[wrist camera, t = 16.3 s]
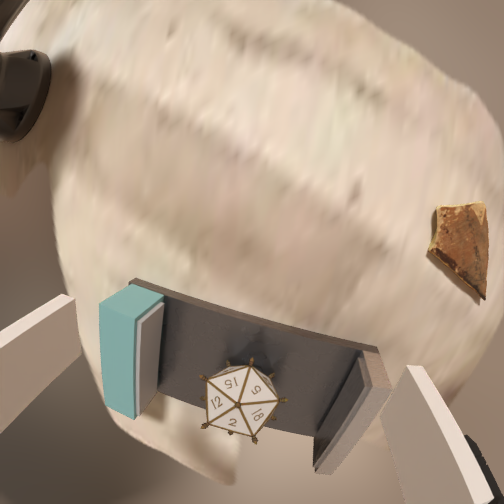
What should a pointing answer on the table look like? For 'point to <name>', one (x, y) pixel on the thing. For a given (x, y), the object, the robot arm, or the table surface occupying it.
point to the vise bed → (275, 370)
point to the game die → (240, 399)
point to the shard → (463, 242)
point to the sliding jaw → (130, 348)
